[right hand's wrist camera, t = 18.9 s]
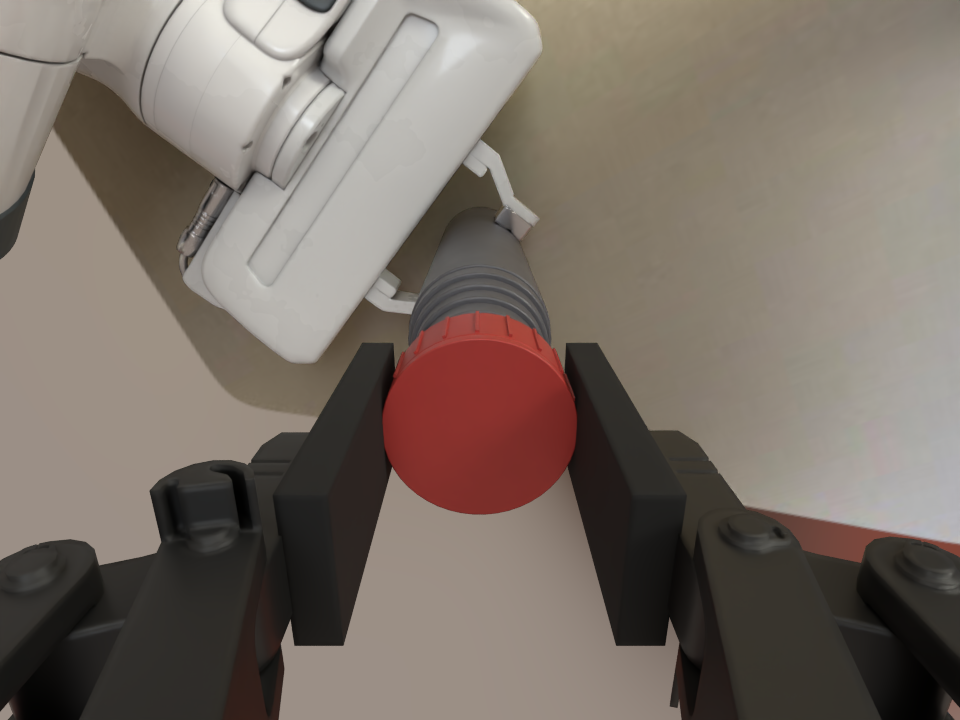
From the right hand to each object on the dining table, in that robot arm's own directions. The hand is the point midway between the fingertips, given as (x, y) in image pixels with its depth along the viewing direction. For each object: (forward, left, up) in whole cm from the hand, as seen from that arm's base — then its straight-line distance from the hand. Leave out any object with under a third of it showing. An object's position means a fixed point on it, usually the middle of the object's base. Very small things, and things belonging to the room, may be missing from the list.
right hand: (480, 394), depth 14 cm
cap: (0, 0, +2) cm, 2 cm away
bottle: (0, 0, -23) cm, 23 cm away
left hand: (0, +1, -17) cm, 17 cm away
